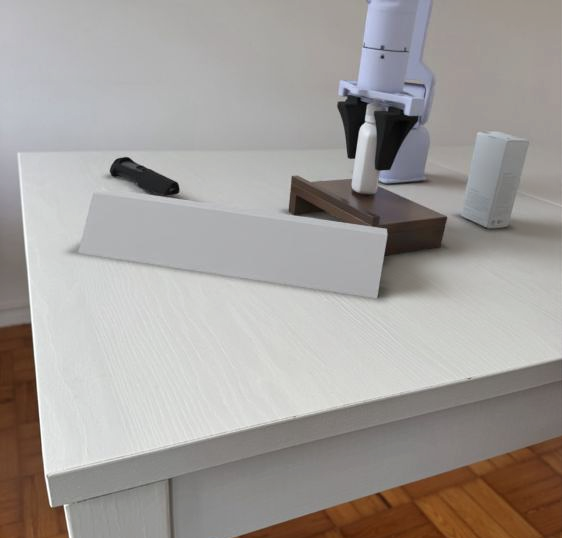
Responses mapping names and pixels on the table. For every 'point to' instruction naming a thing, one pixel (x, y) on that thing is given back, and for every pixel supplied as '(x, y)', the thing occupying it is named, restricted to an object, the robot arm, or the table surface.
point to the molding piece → (235, 242)
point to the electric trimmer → (143, 177)
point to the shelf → (371, 212)
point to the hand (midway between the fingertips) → (368, 163)
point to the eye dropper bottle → (367, 153)
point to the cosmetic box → (494, 178)
